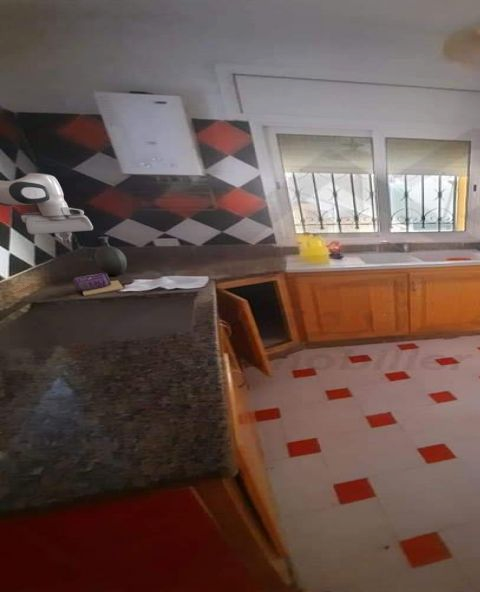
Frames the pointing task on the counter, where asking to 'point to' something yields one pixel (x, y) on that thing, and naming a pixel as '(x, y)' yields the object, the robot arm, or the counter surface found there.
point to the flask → (110, 258)
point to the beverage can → (91, 282)
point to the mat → (105, 288)
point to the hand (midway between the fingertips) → (66, 242)
